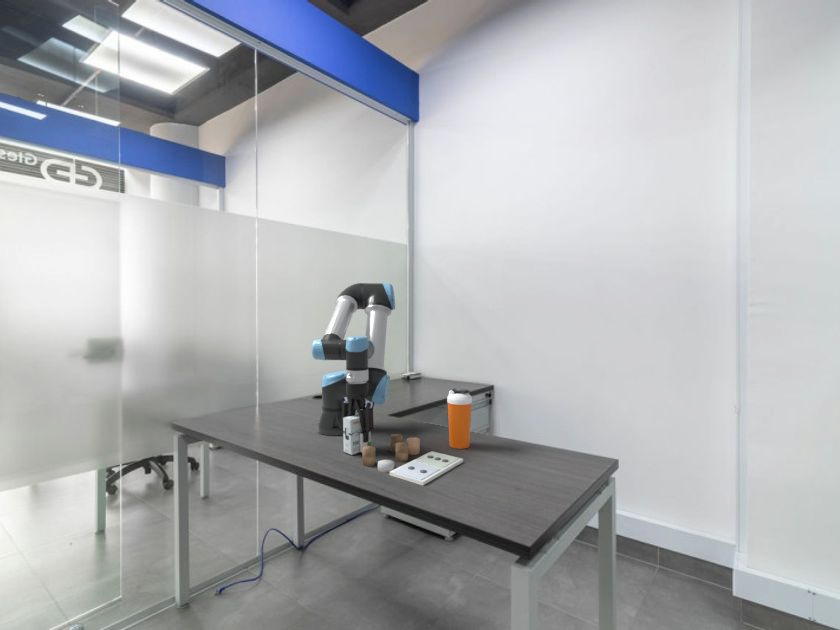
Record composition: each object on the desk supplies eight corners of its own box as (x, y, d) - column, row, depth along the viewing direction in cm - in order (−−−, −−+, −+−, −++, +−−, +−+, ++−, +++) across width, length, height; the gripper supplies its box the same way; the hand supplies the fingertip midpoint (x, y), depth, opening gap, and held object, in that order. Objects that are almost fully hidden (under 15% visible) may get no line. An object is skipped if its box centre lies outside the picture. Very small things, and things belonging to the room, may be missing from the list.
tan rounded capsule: (359, 464, 129) (359, 448, 129) (368, 460, 133) (368, 445, 133) (369, 467, 127) (369, 450, 127) (377, 463, 131) (378, 447, 131)
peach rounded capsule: (403, 453, 140) (404, 439, 140) (411, 449, 144) (411, 436, 144) (414, 455, 137) (414, 442, 137) (422, 452, 141) (422, 439, 141)
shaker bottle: (470, 450, 143) (471, 392, 142) (445, 448, 144) (445, 391, 144) (472, 442, 151) (473, 387, 151) (448, 440, 153) (448, 386, 153)
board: (389, 475, 121) (389, 470, 121) (431, 454, 139) (431, 449, 139) (422, 485, 114) (422, 480, 114) (463, 461, 132) (463, 457, 132)
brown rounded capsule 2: (392, 460, 133) (393, 444, 133) (400, 456, 137) (400, 441, 137) (403, 462, 131) (403, 447, 131) (410, 459, 134) (410, 443, 134)
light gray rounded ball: (374, 470, 124) (375, 464, 124) (381, 465, 129) (382, 458, 129) (389, 473, 123) (390, 467, 123) (396, 467, 127) (396, 461, 127)
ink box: (363, 445, 146) (363, 412, 146) (371, 449, 143) (371, 414, 143) (342, 451, 140) (342, 416, 140) (350, 455, 137) (350, 419, 137)
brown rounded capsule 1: (388, 450, 142) (388, 436, 142) (395, 447, 146) (395, 433, 146) (397, 453, 140) (397, 438, 140) (404, 449, 143) (404, 435, 143)
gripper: (330, 380, 143) (330, 446, 144) (369, 386, 133) (369, 458, 133) (346, 377, 150) (346, 441, 150) (385, 383, 139) (385, 451, 139)
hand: (357, 449), depth 142 cm, fingers closed on ink box, 5 cm apart
